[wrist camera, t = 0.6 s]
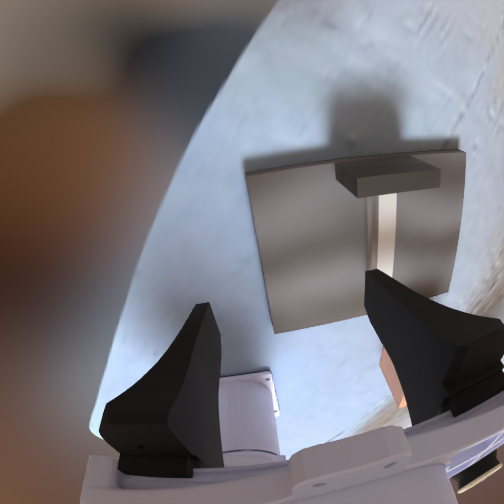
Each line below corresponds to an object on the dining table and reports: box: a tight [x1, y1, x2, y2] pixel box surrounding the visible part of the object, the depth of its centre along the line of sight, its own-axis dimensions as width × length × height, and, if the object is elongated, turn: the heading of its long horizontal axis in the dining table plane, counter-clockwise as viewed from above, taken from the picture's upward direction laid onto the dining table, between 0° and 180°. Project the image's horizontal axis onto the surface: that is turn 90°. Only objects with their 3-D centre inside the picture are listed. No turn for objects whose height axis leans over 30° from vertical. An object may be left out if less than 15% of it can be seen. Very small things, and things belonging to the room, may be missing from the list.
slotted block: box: [380, 346, 407, 409], centre depth 27 cm, size 8×5×6 cm, turn 10°
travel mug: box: [450, 448, 502, 493], centre depth 30 cm, size 8×8×18 cm
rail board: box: [245, 150, 466, 334], centre depth 21 cm, size 14×18×5 cm
